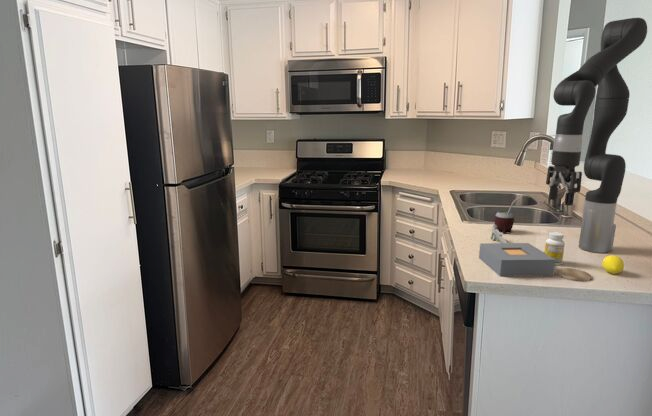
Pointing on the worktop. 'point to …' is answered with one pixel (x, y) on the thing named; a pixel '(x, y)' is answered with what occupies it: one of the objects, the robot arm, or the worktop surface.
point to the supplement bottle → (555, 247)
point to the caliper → (497, 235)
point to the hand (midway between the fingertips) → (560, 202)
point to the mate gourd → (505, 220)
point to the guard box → (516, 260)
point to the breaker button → (515, 252)
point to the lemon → (613, 264)
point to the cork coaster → (573, 274)
